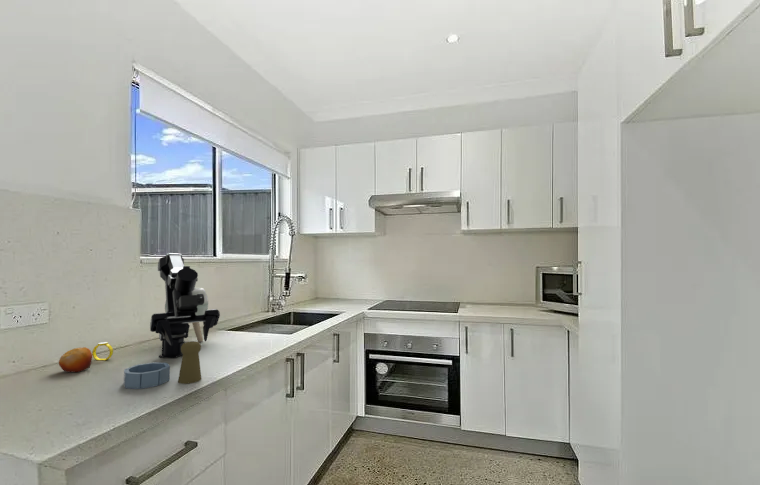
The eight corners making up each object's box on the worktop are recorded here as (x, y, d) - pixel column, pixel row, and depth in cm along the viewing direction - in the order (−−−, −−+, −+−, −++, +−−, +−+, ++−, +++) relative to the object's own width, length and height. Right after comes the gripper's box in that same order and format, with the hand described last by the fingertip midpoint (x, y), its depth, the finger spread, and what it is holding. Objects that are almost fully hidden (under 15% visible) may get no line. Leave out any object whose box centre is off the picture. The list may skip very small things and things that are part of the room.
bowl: (114, 387, 98) (114, 372, 98) (143, 375, 108) (143, 361, 109) (150, 389, 97) (151, 374, 97) (176, 376, 108) (176, 363, 108)
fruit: (104, 362, 116) (91, 343, 113) (80, 381, 110) (66, 362, 106) (87, 359, 119) (74, 341, 116) (63, 378, 112) (48, 359, 109)
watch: (90, 362, 123) (90, 344, 123) (96, 359, 125) (96, 342, 126) (109, 360, 123) (108, 343, 123) (114, 358, 126) (114, 341, 126)
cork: (191, 384, 101) (192, 344, 102) (172, 382, 102) (174, 343, 103) (205, 377, 107) (207, 340, 108) (188, 376, 108) (189, 339, 109)
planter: (174, 338, 158) (176, 287, 159) (212, 338, 160) (214, 287, 161) (155, 347, 142) (157, 290, 143) (197, 347, 144) (199, 290, 145)
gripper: (152, 286, 107) (155, 329, 98) (219, 284, 118) (227, 322, 109) (148, 310, 113) (151, 353, 104) (212, 306, 124) (220, 344, 115)
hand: (189, 342), depth 108 cm, fingers open, 9 cm apart
